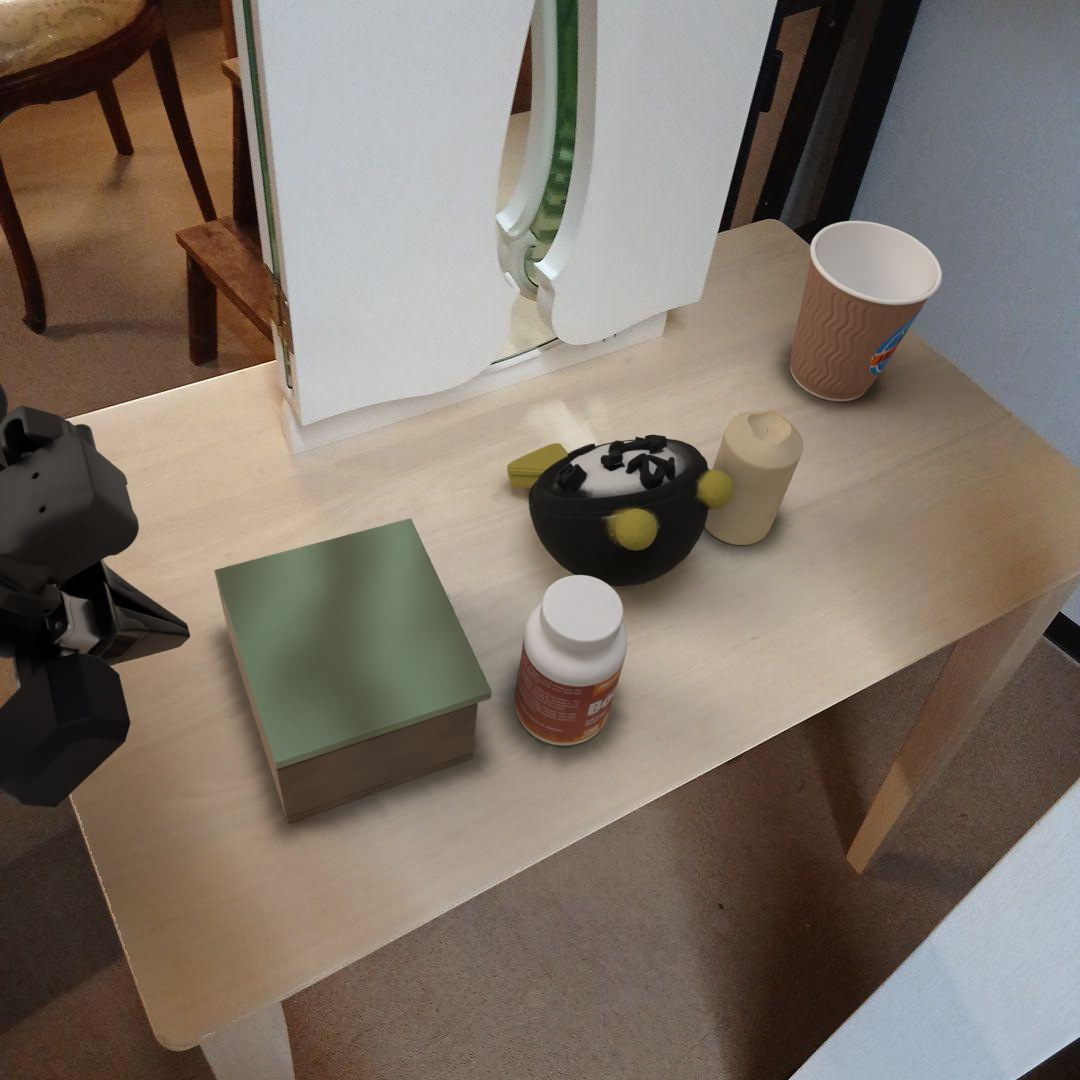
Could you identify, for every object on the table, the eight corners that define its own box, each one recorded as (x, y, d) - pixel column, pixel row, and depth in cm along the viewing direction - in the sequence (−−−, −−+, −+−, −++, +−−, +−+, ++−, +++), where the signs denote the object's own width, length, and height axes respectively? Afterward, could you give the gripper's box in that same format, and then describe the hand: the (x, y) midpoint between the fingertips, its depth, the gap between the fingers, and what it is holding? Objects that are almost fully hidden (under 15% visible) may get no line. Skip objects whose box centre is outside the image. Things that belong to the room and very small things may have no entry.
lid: (411, 525, 68) (411, 517, 68) (491, 698, 61) (492, 691, 60) (215, 577, 64) (213, 569, 64) (276, 770, 57) (275, 763, 56)
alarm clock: (634, 506, 85) (757, 401, 74) (614, 661, 76) (750, 567, 66) (508, 440, 82) (618, 319, 71) (471, 595, 73) (591, 484, 62)
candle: (689, 530, 79) (720, 436, 72) (710, 481, 83) (741, 386, 75) (760, 556, 78) (799, 463, 71) (778, 505, 82) (817, 412, 74)
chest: (399, 591, 73) (399, 528, 68) (472, 759, 66) (478, 703, 61) (230, 640, 70) (215, 577, 64) (287, 823, 62) (276, 770, 57)
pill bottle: (593, 762, 67) (621, 667, 58) (500, 731, 67) (514, 633, 59) (619, 682, 70) (648, 582, 62) (530, 653, 71) (547, 551, 63)
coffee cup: (874, 432, 88) (930, 318, 79) (756, 390, 90) (796, 273, 81) (898, 359, 94) (952, 245, 85) (787, 321, 96) (828, 205, 87)
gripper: (10, 622, 36) (338, 691, 49) (-47, 289, 47) (236, 415, 59) (-156, 800, 40) (188, 823, 52) (-176, 455, 50) (116, 541, 62)
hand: (184, 635), depth 56 cm, fingers closed
